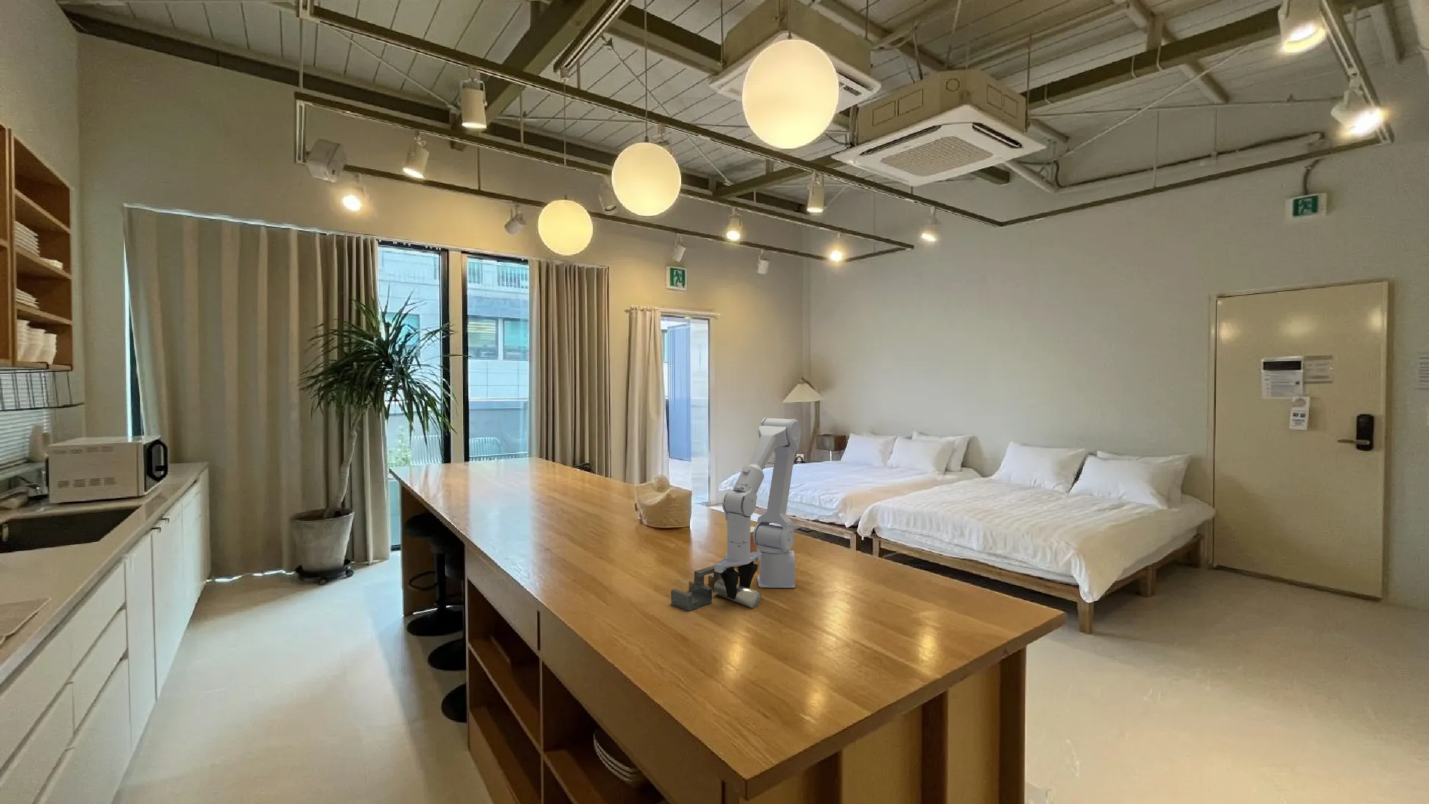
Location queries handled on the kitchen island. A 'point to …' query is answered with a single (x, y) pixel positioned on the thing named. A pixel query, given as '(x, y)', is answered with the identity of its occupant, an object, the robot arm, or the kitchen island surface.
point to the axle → (739, 594)
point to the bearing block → (711, 578)
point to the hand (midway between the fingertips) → (737, 595)
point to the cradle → (692, 597)
